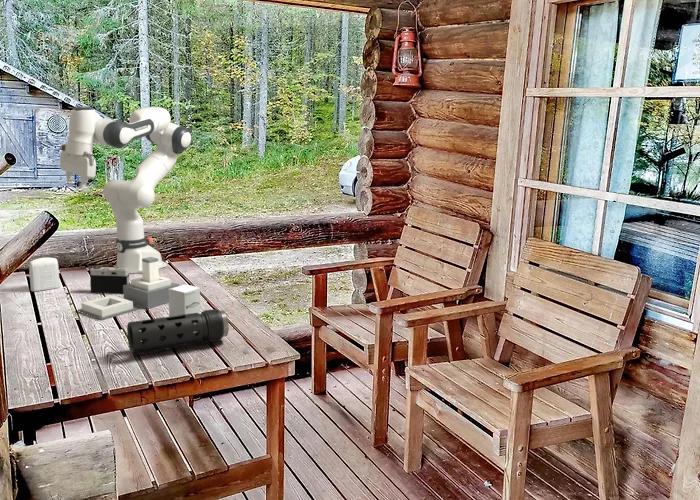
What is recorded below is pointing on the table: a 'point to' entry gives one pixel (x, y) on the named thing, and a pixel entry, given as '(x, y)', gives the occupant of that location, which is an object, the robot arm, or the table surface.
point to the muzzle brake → (176, 331)
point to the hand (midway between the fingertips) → (75, 186)
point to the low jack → (107, 307)
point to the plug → (150, 269)
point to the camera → (108, 279)
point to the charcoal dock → (148, 292)
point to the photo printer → (44, 274)
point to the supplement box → (184, 300)
